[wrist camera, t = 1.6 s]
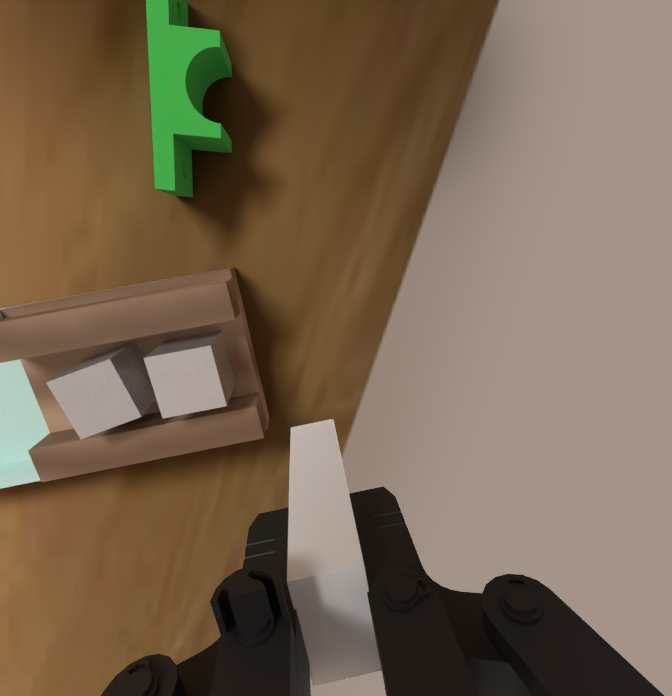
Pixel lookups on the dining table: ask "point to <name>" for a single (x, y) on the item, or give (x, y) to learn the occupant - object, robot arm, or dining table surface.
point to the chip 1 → (104, 390)
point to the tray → (18, 425)
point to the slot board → (148, 332)
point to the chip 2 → (191, 374)
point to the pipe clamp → (182, 92)
